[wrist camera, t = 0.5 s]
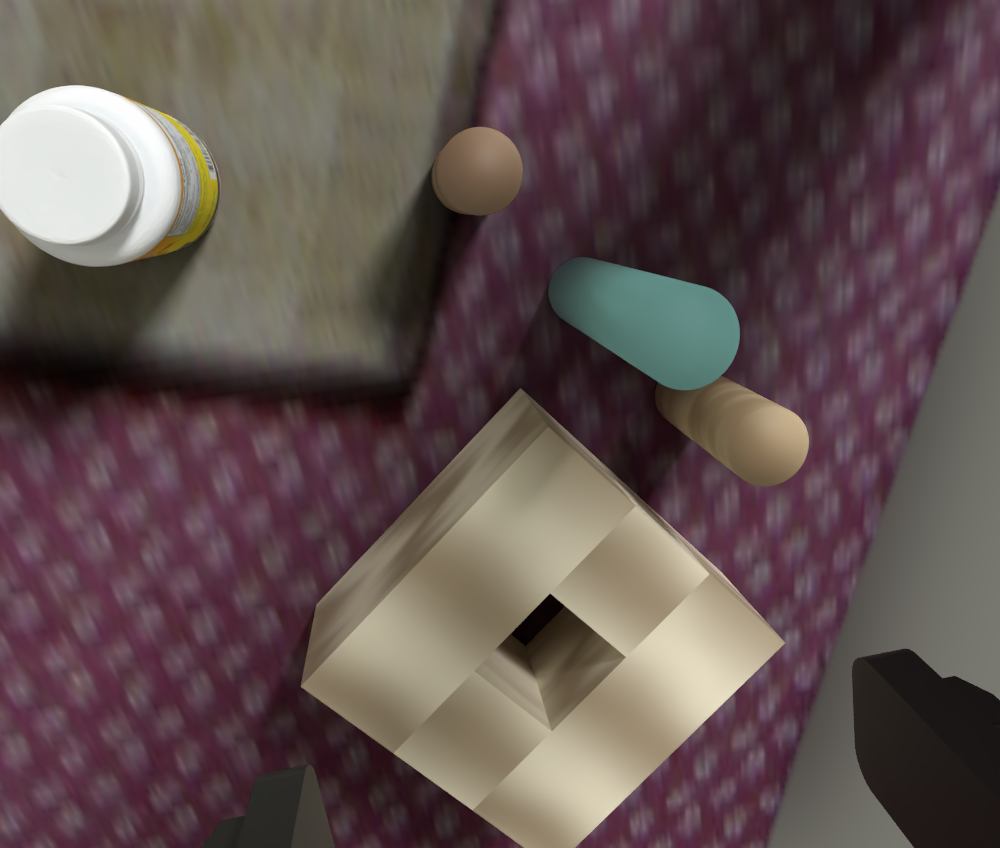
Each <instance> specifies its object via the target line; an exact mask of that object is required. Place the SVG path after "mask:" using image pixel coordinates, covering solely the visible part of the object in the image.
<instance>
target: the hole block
mask: <svg viewBox="0 0 1000 848" xmlns="http://www.w3.org/2000/svg"><path fill="white" fill-rule="evenodd" d="M549 594H551V595H553V596H554V597H555V598H556V599H557V600H559V601H560V602H561V603H562V604H563V605H565V607H564V608H563V609H562V610H561V611H560V612H559V613H558V614H557V615H556V616H555V617H554V618H553V619H552V620H551V621H550V622H549V623H548V624H547V625H546V626H545V627H544V628H543V629H542V630H541V631H540V632H539V633H538V634H537V635H536V636H535V637H534V638H533V639H532V640H531V641H530V642H529V643H528V644H527V645H526V646H525V645H524V644H523V643H521V642H520V641H519V640H518V639H516V638H515V637H514V636H513V635H511V633H512V632H513V631H514V630H515V629H516V628H517V627H518V626H519V625H520V624H521V623H522V622H523V621H524V620H525V619H526V617H527V616H528V615H529V614H530V613H531V612H532V611H533V610H534V609H535V608H536V607H537V606H538V605H539V604H540V603H541V602H542V601H543V600H544V599H545V598H546V597H547V596H548V595H549ZM784 644H785V642H784V641H783V640H782V639H781V638H780V637H779V636H778V635H777V633H776V632H775V631H774V630H773V629H772V628H771V627H770V626H769V625H768V623H767V622H766V621H765V620H764V619H763V618H762V617H761V616H760V615H759V613H758V612H757V611H756V610H755V609H754V608H753V607H752V606H751V605H750V604H749V602H748V601H747V600H746V599H745V598H744V597H743V596H742V595H741V594H740V592H739V591H738V590H737V589H736V588H735V587H734V586H733V585H732V584H731V582H730V581H729V580H728V579H727V578H726V577H725V576H724V575H723V574H722V572H720V571H719V570H718V569H717V568H716V567H715V566H714V565H713V564H712V563H711V562H710V561H708V560H707V559H706V558H705V557H704V556H703V555H702V554H701V553H700V552H699V551H698V550H696V549H695V548H694V547H693V546H692V545H691V544H690V543H689V542H688V541H687V540H686V539H685V538H683V537H682V536H681V535H680V534H679V533H678V532H677V531H676V530H675V529H674V528H673V527H671V526H670V525H669V524H668V523H667V522H666V521H665V520H664V519H663V518H662V517H661V516H659V515H658V514H657V513H656V512H655V511H654V510H653V509H652V508H651V507H650V506H649V505H648V504H646V503H645V502H644V501H643V500H642V499H641V498H640V497H639V496H638V495H637V494H636V493H634V492H633V491H632V490H631V489H630V488H629V487H628V486H627V485H626V484H625V483H624V482H622V481H621V480H620V479H619V478H618V477H617V476H616V475H615V474H614V473H613V472H612V471H611V470H609V469H608V468H607V467H606V466H605V465H604V464H603V463H602V462H601V461H600V460H599V459H597V458H596V457H595V456H594V455H593V454H592V453H591V452H590V451H589V450H588V449H587V448H585V447H584V446H583V445H582V444H581V443H580V442H579V441H578V440H577V439H576V438H575V437H574V436H572V435H571V434H570V433H569V432H568V431H567V430H566V429H565V428H564V427H563V426H562V425H560V424H559V423H558V422H557V421H556V420H555V419H554V418H553V417H552V416H551V415H550V414H548V413H547V412H546V411H545V410H544V409H543V408H542V407H541V406H540V405H539V404H538V403H537V402H535V401H534V400H533V399H532V398H531V397H530V396H529V395H528V394H527V393H526V392H525V391H523V390H522V389H521V388H520V389H519V390H518V391H517V392H516V393H515V394H514V395H513V396H512V398H511V399H510V400H509V401H508V402H507V403H506V404H505V405H504V406H503V407H502V408H501V409H500V410H499V411H498V412H497V413H496V414H495V416H494V417H493V418H492V419H491V420H490V421H489V422H488V423H487V424H486V425H485V426H484V427H483V428H482V429H481V430H480V431H479V433H478V434H477V435H476V436H475V437H474V438H473V439H472V440H471V441H470V442H469V443H468V444H467V445H466V446H465V447H464V448H463V449H462V451H461V452H460V453H459V454H458V455H457V456H456V457H455V458H454V459H453V460H452V461H451V462H450V463H449V464H448V465H447V466H446V468H445V469H444V470H443V471H442V472H441V473H440V474H439V475H438V476H437V477H436V478H435V479H434V480H433V481H432V482H431V483H430V485H429V486H428V487H427V488H426V489H425V490H424V491H423V492H422V493H421V494H420V495H419V496H418V497H417V498H416V499H415V500H414V501H413V503H412V504H411V505H410V506H409V507H408V508H407V509H406V510H405V511H404V512H403V513H402V514H401V515H400V516H399V517H398V518H397V520H396V521H395V522H394V523H393V524H392V525H391V526H390V527H389V528H388V529H387V530H386V531H385V532H384V533H383V534H382V535H381V537H380V538H379V539H378V540H377V541H376V542H375V543H374V544H373V545H372V546H371V547H370V548H369V549H368V550H367V551H366V552H365V553H364V555H363V556H362V557H361V558H360V559H359V560H358V561H357V562H356V563H355V564H354V565H353V566H352V567H351V568H350V569H349V570H348V572H347V573H346V574H345V575H344V576H343V577H342V578H341V579H340V580H339V581H338V582H337V583H336V584H335V585H334V586H333V587H332V588H331V590H330V591H329V592H328V593H327V594H326V595H325V596H324V597H323V598H322V599H321V600H320V601H319V602H318V603H317V604H316V609H315V614H314V619H313V625H312V630H311V635H310V640H309V645H308V651H307V656H306V661H305V666H304V671H303V677H302V682H301V687H302V688H303V689H305V690H306V691H307V692H309V693H310V694H312V695H313V696H314V697H316V698H317V699H319V700H320V701H321V702H323V703H324V704H325V705H327V706H328V707H330V708H331V709H332V710H334V711H335V712H337V713H338V714H339V715H341V716H342V717H344V718H345V719H346V720H348V721H349V722H350V723H352V724H353V725H355V726H356V727H357V728H359V729H360V730H362V731H363V732H364V733H366V734H367V735H369V736H370V737H371V738H373V739H374V740H375V741H377V742H378V743H380V744H381V745H382V746H384V747H385V748H387V749H388V750H389V751H391V752H392V753H394V754H395V755H396V756H398V757H399V758H400V759H402V760H403V761H405V762H406V763H407V764H409V765H410V766H412V767H413V768H414V769H416V770H417V771H419V772H420V773H421V774H423V775H424V776H425V777H427V778H428V779H430V780H431V781H432V782H434V783H435V784H437V785H438V786H439V787H441V788H442V789H444V790H445V791H446V792H448V793H449V794H450V795H452V796H453V797H455V798H456V799H457V800H459V801H460V802H462V803H463V804H464V805H466V806H467V807H468V808H470V809H471V810H473V811H474V812H475V813H477V814H478V815H480V816H481V817H482V818H484V819H485V820H487V821H488V822H489V823H491V824H492V825H493V826H495V827H496V828H498V829H499V830H500V831H502V832H503V833H505V834H506V835H507V836H509V837H510V838H512V839H513V840H514V841H516V842H517V843H518V844H520V845H521V846H523V847H524V848H575V847H576V846H577V845H578V844H579V843H580V842H581V841H582V840H583V839H584V838H585V837H586V836H587V835H588V834H589V833H590V832H591V831H592V830H593V829H594V828H595V827H597V826H598V825H599V824H600V823H601V822H602V821H603V820H604V819H605V818H606V817H607V816H608V815H609V814H610V813H611V812H612V811H613V810H614V809H615V808H616V807H617V806H618V805H619V804H620V803H621V802H622V801H623V800H624V799H625V798H626V797H627V796H628V795H629V794H630V793H631V792H633V791H634V790H635V789H636V788H637V787H638V786H639V785H640V784H641V783H642V782H643V781H644V780H645V779H646V778H647V777H648V776H649V775H650V774H651V773H652V772H653V771H654V770H655V769H656V768H657V767H658V766H659V765H660V764H661V763H662V762H663V761H664V760H665V759H666V758H667V757H669V756H670V755H671V754H672V753H673V752H674V751H675V750H676V749H677V748H678V747H679V746H680V745H681V744H682V743H683V742H684V741H685V740H686V739H687V738H688V737H689V736H690V735H691V734H692V733H693V732H694V731H695V730H696V729H697V728H698V727H699V726H700V725H701V724H702V723H703V722H705V721H706V720H707V719H708V718H709V717H710V716H711V715H712V714H713V713H714V712H715V711H716V710H717V709H718V708H719V707H720V706H721V705H722V704H723V703H724V702H725V701H726V700H727V699H728V698H729V697H730V696H731V695H732V694H733V693H734V692H735V691H736V690H737V689H738V688H739V687H741V686H742V685H743V684H744V683H745V682H746V681H747V680H748V679H749V678H750V677H751V676H752V675H753V674H754V673H755V672H756V671H757V670H758V669H759V668H760V667H761V666H762V665H763V664H764V663H765V662H766V661H767V660H768V659H769V658H770V657H771V656H772V655H773V654H774V653H775V652H776V651H778V650H779V649H780V648H781V647H782V646H783V645H784Z"/></svg>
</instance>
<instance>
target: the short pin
mask: <svg viewBox="0 0 1000 848" xmlns="http://www.w3.org/2000/svg"><path fill="white" fill-rule="evenodd" d="M522 177H523V166H522V161H521V157H520V154H519V152H518V150H517V148H516V147H515V145H514V144H513V143H512V141H511V140H510V139H509V138H508V137H506V136H505V135H504V134H502V133H501V132H499V131H497V130H494V129H491V128H486V127H474V128H470V129H467V130H464V131H462V132H460V133H458V134H457V135H456V136H454V137H453V138H452V139H451V140H450V141H449V142H448V144H447V145H446V146H445V147H444V148H443V150H442V151H441V152H440V153H439V154H438V156H437V157H436V159H435V161H434V164H433V167H432V172H431V182H432V187H433V190H434V193H435V195H436V196H437V198H438V199H439V201H440V202H441V203H442V204H443V205H444V206H445V207H446V208H448V209H450V210H451V211H454V212H456V213H460V214H468V215H490V214H493V213H496V212H499V211H500V210H502V209H504V208H505V207H506V206H508V205H509V204H510V203H511V202H512V201H513V199H514V198H515V197H516V195H517V193H518V191H519V189H520V186H521V183H522Z"/></svg>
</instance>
